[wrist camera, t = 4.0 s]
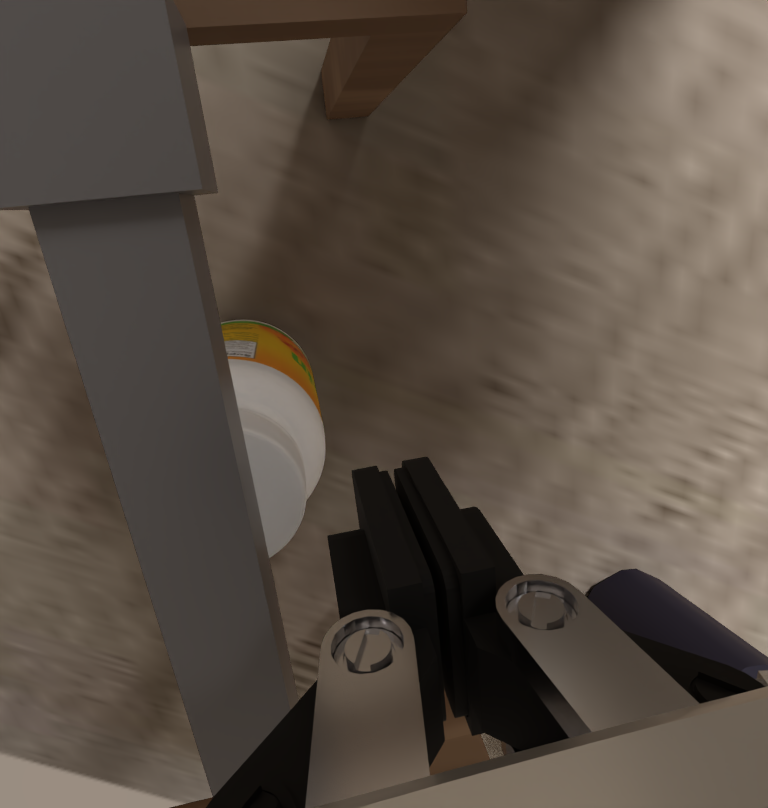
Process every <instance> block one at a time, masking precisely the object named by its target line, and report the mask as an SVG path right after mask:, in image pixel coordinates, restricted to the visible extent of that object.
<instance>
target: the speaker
mask: <svg viewBox="0 0 768 808" xmlns="http://www.w3.org/2000/svg"><path fill="white" fill-rule="evenodd" d="M588 599H589V600H590V601H591V602H592V603H593V604H594V605H595V606H596V607H598V608H599V609H600V610H601V611H602V612H603V613H604V614H605V615H606V616H607V617H608V618H609V619H610V620H611V621H612V622H613V623H615V624H616V625H617V626H618V627H619V628H620V629H621V630H624V631H627V632H630V633H633V634H636V635H639V636H642V637H645V638H648V639H651V640H654V641H657V642H660V643H663V644H666V645H669V646H672V647H675V648H678V649H681V650H684V651H687V652H690V653H693V654H696V655H699V656H702V657H705V658H708V659H711V660H714V661H717V662H720V663H723V664H726V665H729V666H731V667H733V668H736V669H738V670H740V671H743V672H745V673H746V674H748V675H749V676H751V677H752V678H754V679H757V674H758V671H764V670H768V657H766V656H765V655H764V654H762V653H761V652H760V651H758V650H757V649H755V648H754V647H753V646H751V645H750V644H748V643H747V642H746V641H744V640H743V639H741V638H740V637H739V636H737V635H736V634H735V633H733V632H732V631H730V630H729V629H728V628H726V627H725V626H723V625H722V624H721V623H719V622H718V621H716V620H715V619H714V618H712V617H711V616H710V615H708V614H707V613H705V612H704V611H703V610H701V609H700V608H698V607H697V606H696V605H694V604H693V603H692V602H690V601H689V600H687V599H686V598H685V597H683V596H682V595H680V594H679V593H678V592H676V591H675V590H673V589H672V588H671V587H669V586H668V585H667V584H665V583H664V582H662V581H661V580H659V579H657V578H655V577H653V576H651V575H648V574H646V573H644V572H642V571H640V570H637V569H629V570H621V571H619V572H618V573H616V574H614V575H612V576H611V577H609V578H607V579H606V580H604V581H602V582H601V583H599V584H597V585H596V586H594V587H593V589H592V591H591V593H590V594H589V596H588Z"/></svg>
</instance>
